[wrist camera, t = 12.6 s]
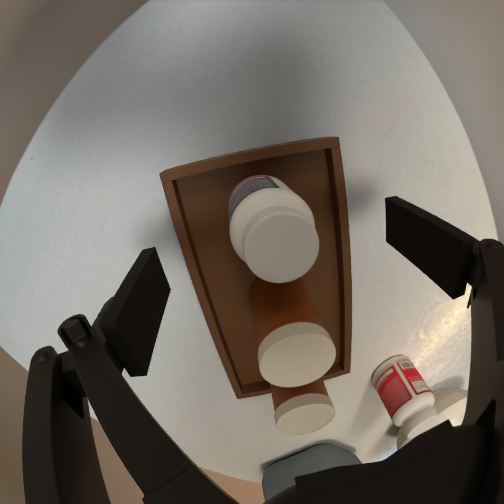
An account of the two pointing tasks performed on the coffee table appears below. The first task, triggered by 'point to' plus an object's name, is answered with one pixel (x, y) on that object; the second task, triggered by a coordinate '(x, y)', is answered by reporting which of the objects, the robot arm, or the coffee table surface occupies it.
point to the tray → (237, 271)
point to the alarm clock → (304, 466)
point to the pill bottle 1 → (272, 229)
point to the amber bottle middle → (289, 334)
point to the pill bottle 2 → (405, 396)
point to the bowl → (443, 410)
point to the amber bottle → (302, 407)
